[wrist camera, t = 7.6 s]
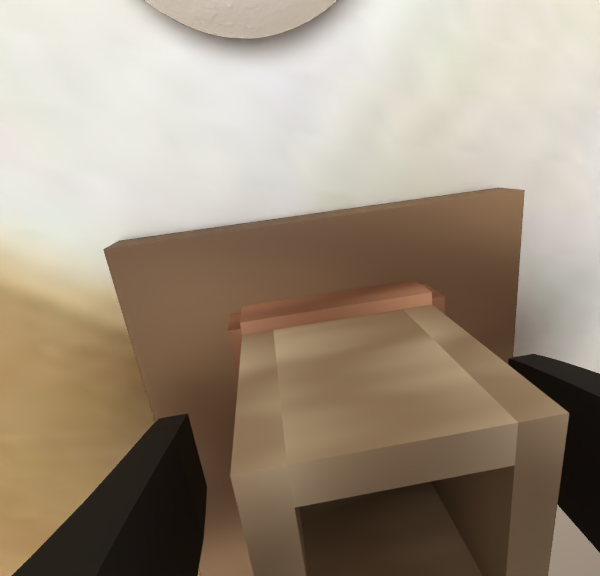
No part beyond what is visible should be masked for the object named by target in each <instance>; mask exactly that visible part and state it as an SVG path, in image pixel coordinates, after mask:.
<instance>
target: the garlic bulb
mask: <svg viewBox="0 0 600 576" xmlns="http://www.w3.org/2000/svg"><path fill="white" fill-rule="evenodd" d="M145 1H146V2H147V3H149V4H150V5H151V6H153V7H154V8H155V9H157V10H158V11H160V12H162V13H164V14H165V15H168V16H169V17H171V18H173V19H174V20H177V21H178V22H180V23H182V24H184V25H186V26H189V27H190V28H194V29H196V30H199V31H203V32H205V33H209V34H212V35H217V36H223V37H230V38H243V39H244V38H250V39H251V38H259V37H265V36H271V35H275V34H280V33H282V32H285V31H288V30H291V29H293V28H296V27H298V26H300V25H302V24H304V23H306V22H308V21H310V20H311V19H313V18H314V17H316V16H317V15H319V14H320V13H322V12H323V11H325V10H326V9H328V8H329V7H330V6H331V5H332V4H334V3H335V2H336V1H337V0H145Z"/></svg>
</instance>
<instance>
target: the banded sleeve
mask: <svg viewBox="0 0 600 576" xmlns="http://www.w3.org/2000/svg"><path fill="white" fill-rule="evenodd" d="M228 336H229V341H230V346H231V350H232V355H233V360H234V365H235V370H236V375H237V380H238V390H237V402H236V414H235V426H234V438H233V449H232V461H231V473H230V477H231V481H232V485H233V489H234V494H235V498H236V502H237V506H238V511H239V515H240V519H241V523H242V527H243V532H244V536H245V540H246V544H247V549H248V553H249V557H250V561H251V566H252V570H253V574H254V576H548V571H549V564H550V556H551V548H552V541H553V533H554V525H555V518H556V511H557V503H558V495H559V488H560V480H561V473H562V465H563V458H564V450H565V442H566V435H567V427H568V420H569V412H567V411H566V410H565V409H564V408H562V407H561V406H560V405H559V404H557V403H556V402H555V401H554V400H552V399H551V398H550V397H548V396H547V395H546V394H545V393H543V392H542V391H541V390H540V389H538V388H537V387H536V386H535V385H533V384H532V383H531V382H529V381H528V380H527V379H526V378H524V377H523V376H522V375H521V374H519V373H518V372H517V371H516V370H514V369H513V368H512V367H511V366H509V365H508V364H507V363H505V362H504V361H503V360H502V359H500V358H499V357H498V356H497V355H495V354H494V353H493V352H492V351H490V350H489V349H488V348H486V347H485V346H484V345H483V344H481V343H480V342H479V341H478V340H476V339H475V338H474V337H473V336H471V335H470V334H469V333H468V332H466V331H465V330H464V329H462V328H461V327H460V326H459V325H457V324H456V323H455V322H454V321H452V320H451V319H450V318H449V317H447V316H446V315H445V296H443V295H442V294H440V293H439V292H437V291H436V290H435V289H433V288H432V287H430V286H429V285H427V284H420V283H418V282H417V281H416V280H409V281H403V282H397V283H390V284H384V285H377V286H371V287H364V288H358V289H352V290H345V291H339V292H332V293H326V294H319V295H313V296H306V297H300V298H294V299H287V300H281V301H274V302H268V303H261V304H255V305H249V306H242V307H241V313H234V314H230V320H229V325H228Z"/></svg>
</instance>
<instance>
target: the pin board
mask: <svg viewBox="0 0 600 576" xmlns="http://www.w3.org/2000/svg"><path fill="white" fill-rule="evenodd" d="M524 191H525V190H518V189H507V188H494V189H487V190H480V191H473V192H466V193H459V194H451V195H444V196H437V197H430V198H423V199H416V200H409V201H401V202H394V203H387V204H380V205H373V206H366V207H358V208H351V209H344V210H337V211H330V212H323V213H316V214H308V215H301V216H294V217H287V218H280V219H273V220H265V221H258V222H251V223H244V224H237V225H230V226H223V227H215V228H208V229H201V230H194V231H187V232H180V233H172V234H165V235H158V236H151V237H144V238H137V239H130V240H122V241H118V242H116V243H114V244H112V245H111V246H109V247H107V248H105V249H103V250H104V253H105V256H106V260H107V263H108V266H109V270H110V273H111V276H112V280H113V283H114V286H115V290H116V293H117V296H118V300H119V303H120V306H121V310H122V313H123V316H124V320H125V323H126V326H127V330H128V333H129V336H130V340H131V343H132V346H133V350H134V353H135V356H136V360H137V363H138V366H139V370H140V373H141V376H142V380H143V383H144V386H145V390H146V393H147V396H148V400H149V403H150V406H151V410H152V413H153V416H154V420H155V422H156V421H157V420H158V419H159V418H164V417H170V416H176V415H181V414H187V413H188V416H189V420H190V424H191V428H192V431H193V435H194V439H195V443H196V447H197V450H198V454H199V458H200V462H201V466H202V469H203V473H204V477H205V481H206V484H207V500H206V516H205V529H204V540H203V546H202V552H201V557H200V563H199V570H200V573H201V576H254V574H253V570H252V566H251V561H250V557H249V553H248V549H247V544H246V540H245V536H244V532H243V527H242V523H241V519H240V515H239V511H238V506H237V502H236V498H235V494H234V489H233V485H232V481H231V477H230V473H231V461H232V449H233V438H234V426H235V414H236V402H237V390H238V380H237V375H236V370H235V365H234V360H233V355H232V350H231V346H230V341H229V336H228V325H229V320H230V314H234V313H241V307H242V306H249V305H255V304H261V303H268V302H274V301H281V300H287V299H294V298H300V297H306V296H313V295H319V294H326V293H332V292H339V291H345V290H352V289H358V288H364V287H371V286H377V285H384V284H390V283H397V282H403V281H409V280H416V281H417V282H418V283H420V284H427V285H429V286H430V287H432V288H433V289H435V290H436V291H437V292H439V293H440V294H442V295H443V296H445V315H446V316H447V317H449V318H450V319H451V320H452V321H454V322H455V323H456V324H457V325H459V326H460V327H461V328H462V329H464V330H465V331H466V332H468V333H469V334H470V335H471V336H473V337H474V338H475V339H476V340H478V341H479V342H480V343H481V344H483V345H484V346H485V347H486V348H488V349H489V350H490V351H492V352H493V353H494V354H495V355H497V356H498V357H499V358H500V359H502V360H503V361H504V362H505V363H507V364H508V358H513V347H514V333H515V319H516V305H517V290H518V276H519V262H520V248H521V233H522V219H523V205H524Z"/></svg>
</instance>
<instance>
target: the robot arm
mask: <svg viewBox="0 0 600 576" xmlns="http://www.w3.org/2000/svg"><path fill="white" fill-rule="evenodd" d="M508 365H509V366H511V367H512V368H513V369H514V370H516V371H517V372H518V373H519V374H521V375H522V376H523V377H524V378H526V379H527V380H528V381H529V382H531V383H532V384H533V385H535V386H536V387H537V388H538V389H540V390H541V391H542V392H543V393H545V394H546V395H547V396H548V397H550V398H551V399H552V400H554V401H555V402H556V403H557V404H559V405H560V406H561V407H562V408H564V409H565V410H566V411H567V412H569V420H568V427H567V435H566V442H565V450H564V458H563V465H562V473H561V480H560V488H559V495H558V503H557V504H558V505H559V507H560V508H561V509H562V510H563V511H564V512H565V513H566V514H567V516H568V517H569V518H570V519H571V520H572V521H573V523H574V524H575V525H576V526H577V527H578V528H579V529H580V531H581V532H582V533H583V534H584V535H585V536H586V537H587V539H588V540H589V541H590V542H591V543H592V544H593V545H594V547H595V548H596V549H597V550H598V551H599V552H600V374H599V373H596V372H593V371H590V370H587V369H584V368H581V367H578V366H574V365H571V364H568V363H565V362H562V361H558V360H555V359H552V358H548V357H544V356H540V355H536V354H531V355H525V356H519V357H514V358H508ZM206 500H207V484H206V481H205V477H204V473H203V469H202V466H201V462H200V458H199V454H198V450H197V447H196V443H195V439H194V435H193V431H192V428H191V424H190V420H189V416H188V413H187V414H181V415H176V416H170V417H164V418H159V419H158V420H157V421H156V422H155V423H154V424H153V425H152V426H151V427H150V429H149V430H148V431H147V432H146V433H145V434H144V435H143V436H142V438H141V439H140V440H139V441H138V442H137V443H136V444H135V446H134V447H133V448H132V449H131V450H130V451H129V452H128V454H127V455H126V456H125V457H124V458H123V459H122V460H121V462H120V463H119V464H118V465H117V466H116V467H115V468H114V469H113V470H112V472H111V473H110V474H109V475H108V476H107V477H106V478H105V479H104V480H103V482H102V483H101V484H100V485H99V486H98V487H97V488H96V489H95V490H94V492H93V493H92V494H91V495H90V496H89V497H88V498H87V499H86V500H85V501H84V503H83V504H82V505H81V506H80V507H79V508H78V509H77V510H76V511H75V512H74V513H73V514H72V515H71V516H70V517H69V518H68V519H67V520H66V521H65V522H64V523H63V524H62V525H61V526H60V527H59V528H58V529H57V530H56V531H55V533H54V534H53V535H52V536H51V537H50V538H49V539H48V540H47V541H46V542H45V543H44V544H43V545H42V546H41V547H40V548H39V549H38V550H37V551H36V552H35V553H34V554H33V555H32V556H31V557H30V558H29V559H28V560H27V561H26V562H25V563H24V564H23V565H22V566H21V567H20V568H19V569H18V570H17V571H16V572H15V573H14V574H13V575H12V576H197V575H198V569H199V563H200V557H201V552H202V546H203V540H204V529H205V516H206Z"/></svg>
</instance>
